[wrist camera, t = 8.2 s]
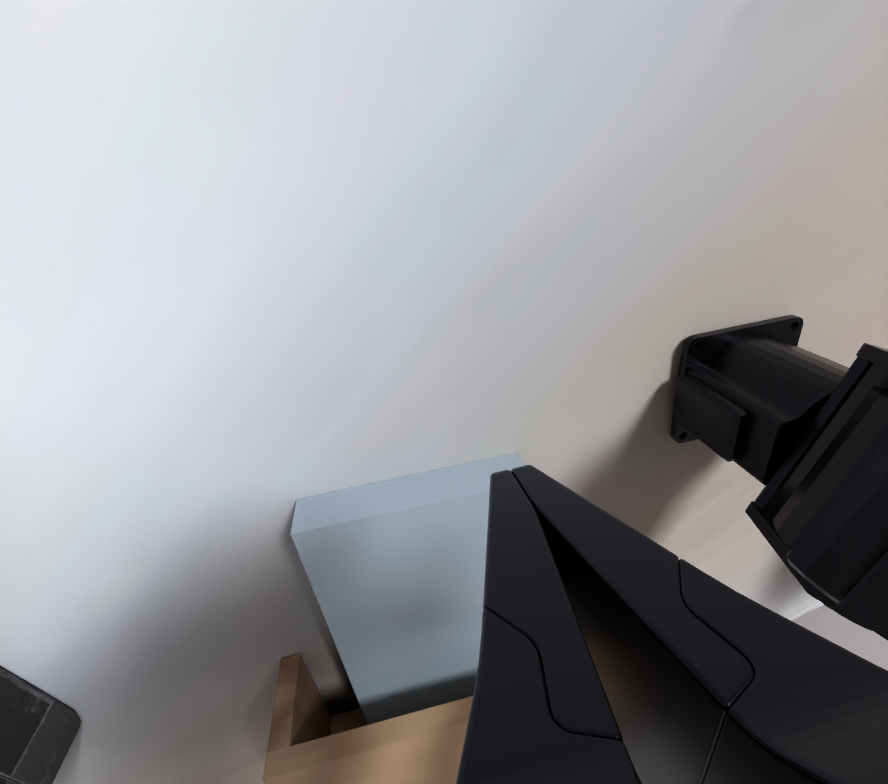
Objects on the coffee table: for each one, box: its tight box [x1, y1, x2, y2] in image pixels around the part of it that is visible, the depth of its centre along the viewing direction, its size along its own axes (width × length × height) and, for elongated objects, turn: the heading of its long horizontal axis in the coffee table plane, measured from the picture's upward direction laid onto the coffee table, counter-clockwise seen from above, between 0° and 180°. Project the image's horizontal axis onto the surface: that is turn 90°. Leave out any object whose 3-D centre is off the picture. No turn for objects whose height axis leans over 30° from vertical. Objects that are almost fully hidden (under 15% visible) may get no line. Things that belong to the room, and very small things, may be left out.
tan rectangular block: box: [263, 654, 473, 784], centre depth 29 cm, size 20×9×6 cm, turn 98°
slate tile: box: [290, 452, 524, 725], centre depth 27 cm, size 12×18×3 cm, turn 8°
